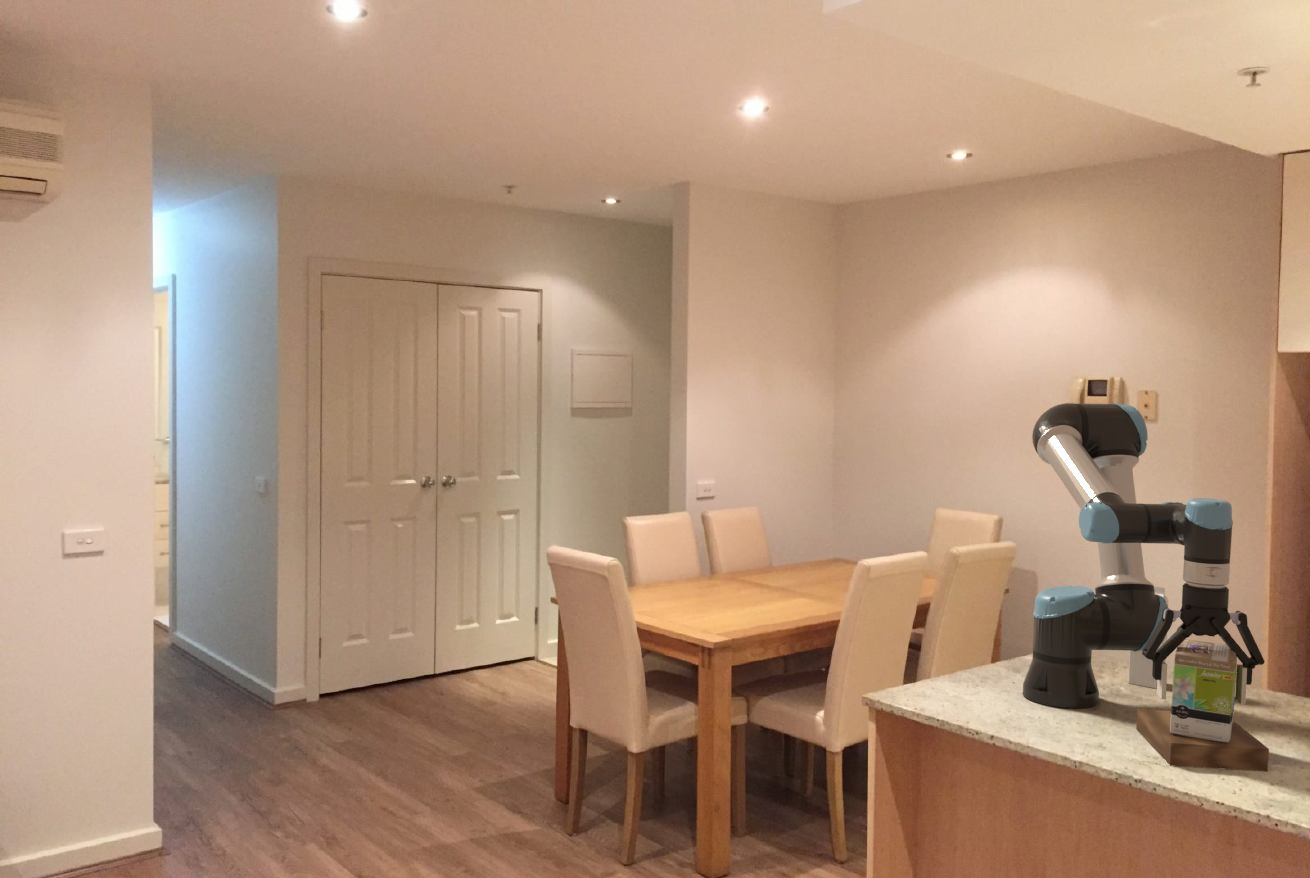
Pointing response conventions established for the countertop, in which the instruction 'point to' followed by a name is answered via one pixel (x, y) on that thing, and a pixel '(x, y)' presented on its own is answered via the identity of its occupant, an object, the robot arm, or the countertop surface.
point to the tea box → (1203, 690)
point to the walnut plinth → (1201, 745)
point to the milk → (1144, 660)
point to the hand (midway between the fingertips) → (1200, 699)
